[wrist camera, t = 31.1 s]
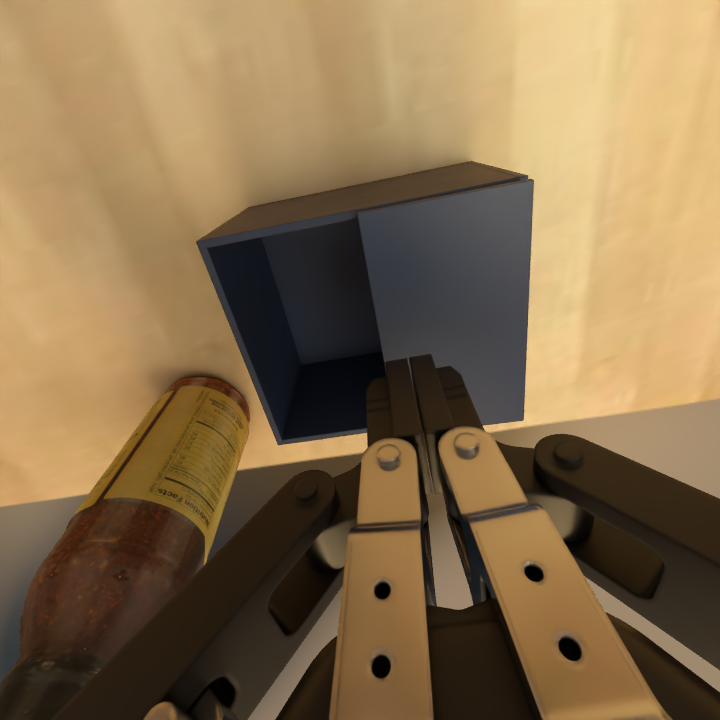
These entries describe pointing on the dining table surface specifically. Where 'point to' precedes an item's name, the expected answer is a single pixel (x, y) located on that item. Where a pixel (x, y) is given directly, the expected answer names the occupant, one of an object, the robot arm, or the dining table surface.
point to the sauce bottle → (128, 545)
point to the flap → (457, 288)
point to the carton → (315, 296)
